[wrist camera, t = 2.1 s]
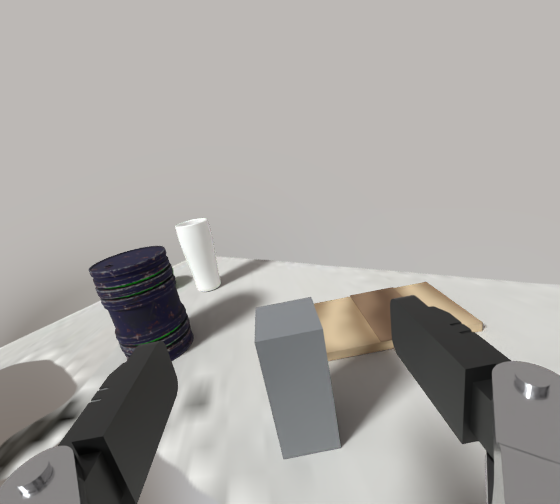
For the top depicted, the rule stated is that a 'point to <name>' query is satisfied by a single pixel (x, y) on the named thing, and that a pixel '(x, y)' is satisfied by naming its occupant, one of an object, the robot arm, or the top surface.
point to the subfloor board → (376, 319)
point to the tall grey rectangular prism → (297, 377)
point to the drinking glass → (199, 253)
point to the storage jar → (143, 300)
